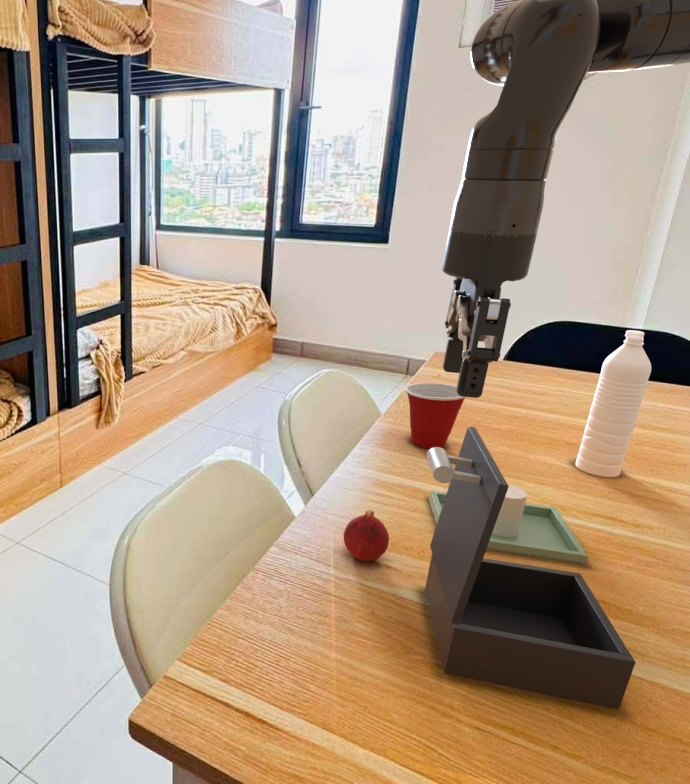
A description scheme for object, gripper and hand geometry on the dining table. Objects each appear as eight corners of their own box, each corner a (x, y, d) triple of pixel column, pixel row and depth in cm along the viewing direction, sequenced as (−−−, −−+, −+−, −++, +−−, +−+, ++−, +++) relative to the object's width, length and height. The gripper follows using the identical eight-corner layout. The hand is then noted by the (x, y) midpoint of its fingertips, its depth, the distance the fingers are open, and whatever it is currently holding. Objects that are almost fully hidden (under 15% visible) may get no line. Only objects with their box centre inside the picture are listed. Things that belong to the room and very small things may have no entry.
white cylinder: (512, 523, 96) (522, 485, 94) (521, 540, 91) (531, 500, 89) (477, 518, 97) (485, 480, 95) (484, 534, 93) (493, 495, 91)
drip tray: (552, 518, 98) (555, 507, 97) (584, 569, 86) (588, 555, 85) (428, 501, 103) (430, 490, 102) (442, 546, 91) (444, 534, 90)
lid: (475, 427, 72) (425, 418, 74) (509, 486, 59) (447, 474, 60) (436, 547, 78) (391, 537, 80) (459, 625, 65) (404, 611, 66)
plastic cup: (416, 430, 131) (425, 375, 127) (468, 448, 122) (480, 390, 118) (384, 442, 125) (393, 385, 121) (436, 462, 117) (448, 402, 113)
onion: (389, 575, 85) (398, 524, 82) (344, 571, 86) (352, 520, 83) (379, 551, 90) (387, 502, 87) (337, 547, 91) (344, 498, 88)
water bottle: (618, 482, 109) (661, 344, 100) (573, 472, 113) (610, 337, 104) (620, 465, 115) (659, 333, 107) (576, 455, 119) (611, 327, 110)
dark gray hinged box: (566, 620, 76) (580, 573, 74) (616, 716, 63) (636, 662, 61) (423, 595, 81) (432, 549, 79) (442, 679, 68) (454, 627, 65)
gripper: (560, 236, 54) (517, 410, 60) (517, 223, 67) (484, 367, 72) (463, 233, 56) (431, 401, 62) (439, 221, 69) (414, 361, 75)
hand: (460, 383), depth 67 cm, fingers open, 8 cm apart
